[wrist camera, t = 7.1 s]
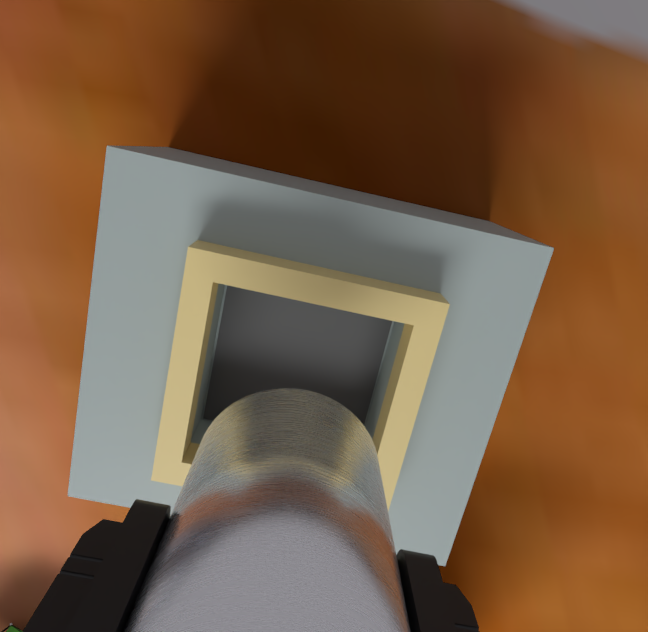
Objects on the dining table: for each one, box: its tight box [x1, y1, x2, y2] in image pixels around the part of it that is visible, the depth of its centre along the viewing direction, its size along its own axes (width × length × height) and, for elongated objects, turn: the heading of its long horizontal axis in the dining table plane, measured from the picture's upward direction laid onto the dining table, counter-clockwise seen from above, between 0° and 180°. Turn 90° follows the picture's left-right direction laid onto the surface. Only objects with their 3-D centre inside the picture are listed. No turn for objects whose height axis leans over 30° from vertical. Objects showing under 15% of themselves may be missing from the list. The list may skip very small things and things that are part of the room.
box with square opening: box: [68, 146, 554, 566], centre depth 25 cm, size 16×14×10 cm
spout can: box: [123, 388, 411, 632], centre depth 10 cm, size 5×5×10 cm
